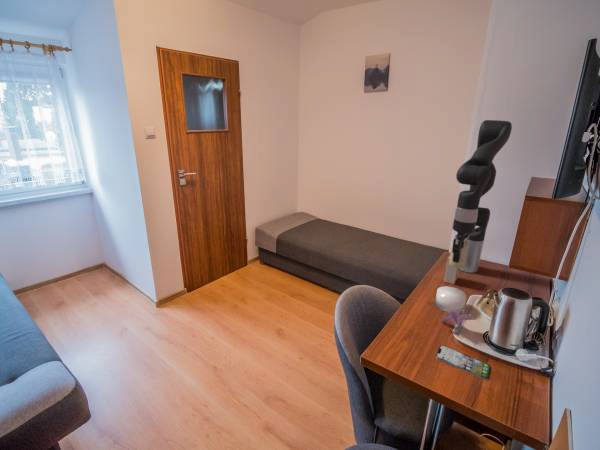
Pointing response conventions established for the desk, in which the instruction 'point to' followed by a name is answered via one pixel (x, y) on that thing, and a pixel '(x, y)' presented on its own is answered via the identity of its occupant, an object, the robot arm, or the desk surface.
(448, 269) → the supplement box
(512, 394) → the desk surface
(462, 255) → the candle
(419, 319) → the desk surface
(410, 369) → the desk surface
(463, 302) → the glossy white dome
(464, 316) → the lily
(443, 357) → the smartphone
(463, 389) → the desk surface
